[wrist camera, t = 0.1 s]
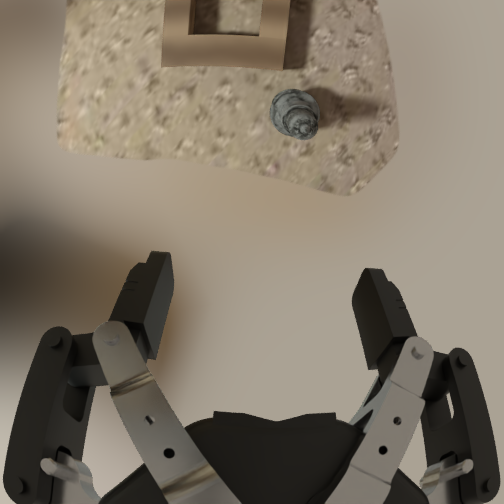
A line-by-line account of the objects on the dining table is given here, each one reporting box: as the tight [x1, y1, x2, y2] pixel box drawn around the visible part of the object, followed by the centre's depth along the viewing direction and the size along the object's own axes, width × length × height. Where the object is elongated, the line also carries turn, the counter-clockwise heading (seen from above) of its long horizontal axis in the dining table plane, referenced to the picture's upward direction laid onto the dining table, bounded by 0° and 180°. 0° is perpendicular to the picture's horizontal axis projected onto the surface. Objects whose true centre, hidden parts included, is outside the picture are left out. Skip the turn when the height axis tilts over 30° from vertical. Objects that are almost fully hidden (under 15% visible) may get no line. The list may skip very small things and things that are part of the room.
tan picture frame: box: [161, 0, 290, 71], centre depth 24 cm, size 16×14×3 cm
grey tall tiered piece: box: [270, 89, 320, 140], centre depth 29 cm, size 6×6×12 cm
